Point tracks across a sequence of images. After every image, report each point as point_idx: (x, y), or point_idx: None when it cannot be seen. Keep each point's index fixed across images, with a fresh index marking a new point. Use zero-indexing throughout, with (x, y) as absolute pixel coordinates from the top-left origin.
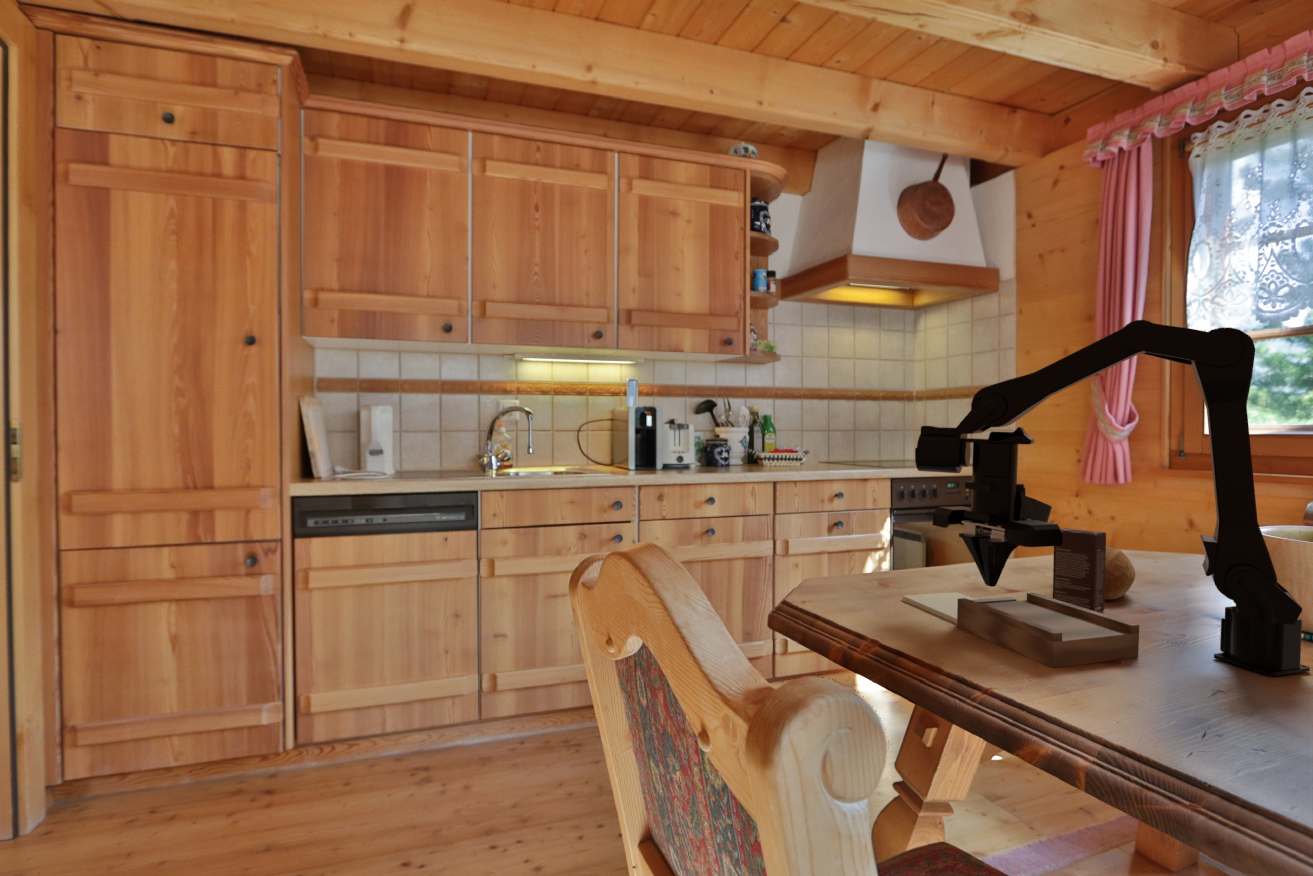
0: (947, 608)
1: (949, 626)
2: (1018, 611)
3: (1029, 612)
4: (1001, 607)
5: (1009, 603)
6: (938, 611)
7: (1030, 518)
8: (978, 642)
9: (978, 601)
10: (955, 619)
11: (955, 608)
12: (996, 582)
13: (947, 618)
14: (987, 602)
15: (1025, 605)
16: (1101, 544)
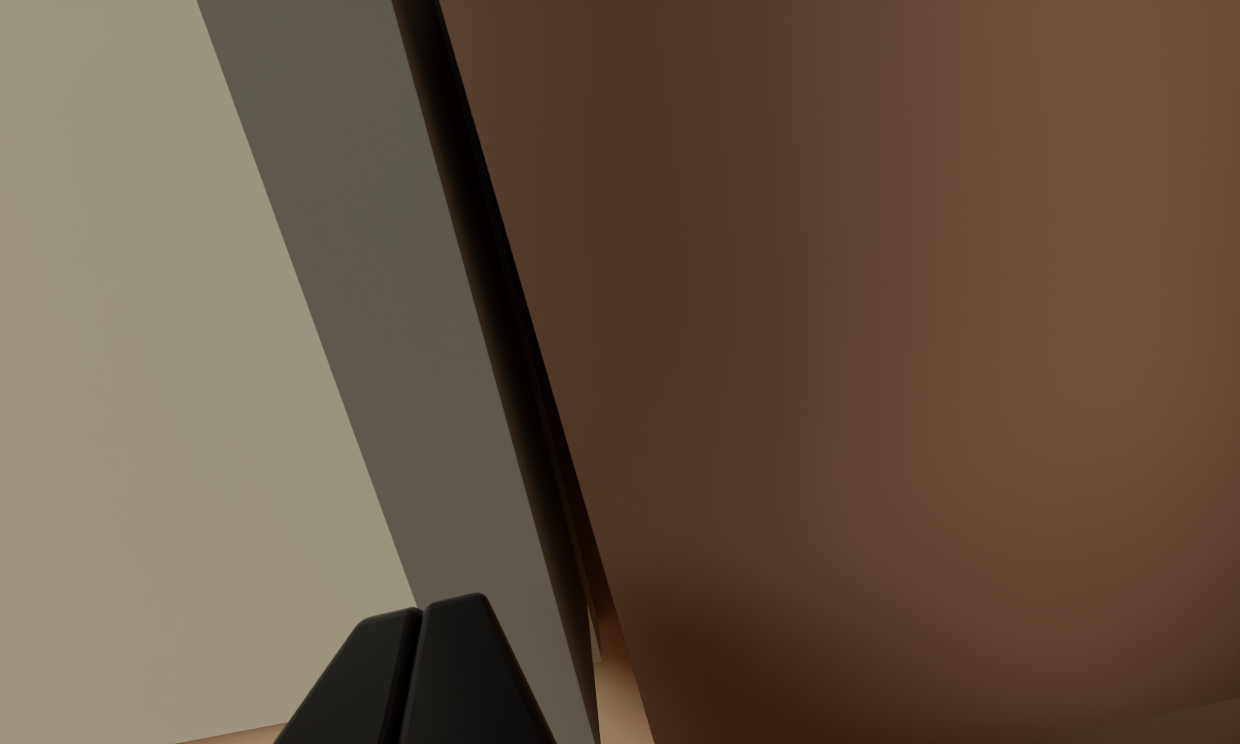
0: (62, 629)
1: (610, 719)
2: (1098, 344)
3: (1195, 204)
4: (845, 472)
5: (627, 237)
6: (207, 736)
7: None
8: None
9: (545, 653)
10: None
11: (34, 545)
12: (502, 644)
13: None
14: (541, 531)
15: (782, 5)
16: None
